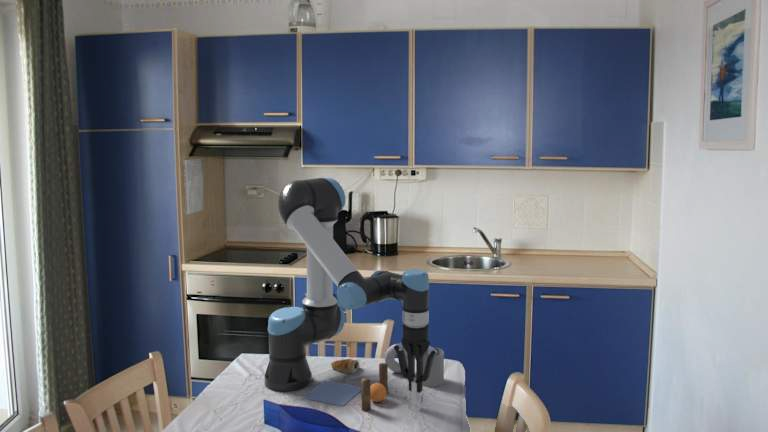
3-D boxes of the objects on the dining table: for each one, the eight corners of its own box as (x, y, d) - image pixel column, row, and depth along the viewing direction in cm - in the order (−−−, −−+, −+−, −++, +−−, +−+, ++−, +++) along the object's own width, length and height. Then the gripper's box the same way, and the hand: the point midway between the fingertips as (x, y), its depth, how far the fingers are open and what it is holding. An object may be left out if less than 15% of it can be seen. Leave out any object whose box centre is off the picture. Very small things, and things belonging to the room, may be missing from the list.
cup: (441, 387, 208) (442, 357, 206) (415, 385, 209) (415, 355, 208) (444, 377, 216) (445, 348, 214) (419, 375, 218) (419, 346, 216)
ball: (363, 387, 197) (379, 386, 194) (371, 381, 202) (387, 379, 199) (367, 405, 197) (384, 404, 194) (375, 398, 202) (391, 397, 199)
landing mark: (302, 398, 201) (302, 397, 201) (324, 381, 213) (324, 380, 213) (343, 405, 195) (343, 405, 195) (363, 388, 208) (363, 387, 208)
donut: (414, 370, 222) (414, 342, 220) (414, 374, 218) (414, 345, 217) (384, 370, 222) (384, 341, 221) (384, 374, 219) (384, 345, 217)
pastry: (327, 371, 222) (327, 360, 222) (336, 364, 229) (335, 353, 228) (353, 375, 219) (353, 364, 219) (361, 367, 225) (361, 357, 225)
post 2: (377, 393, 204) (377, 365, 202) (381, 390, 206) (381, 362, 205) (385, 394, 203) (385, 366, 201) (389, 391, 205) (388, 363, 204)
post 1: (360, 410, 192) (359, 380, 191) (364, 406, 195) (363, 377, 193) (368, 411, 191) (368, 382, 190) (372, 408, 194) (371, 378, 192)
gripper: (389, 325, 189) (389, 403, 193) (432, 330, 184) (432, 411, 187) (399, 317, 196) (399, 393, 199) (441, 322, 191) (440, 400, 194)
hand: (415, 401), depth 193 cm, fingers closed
